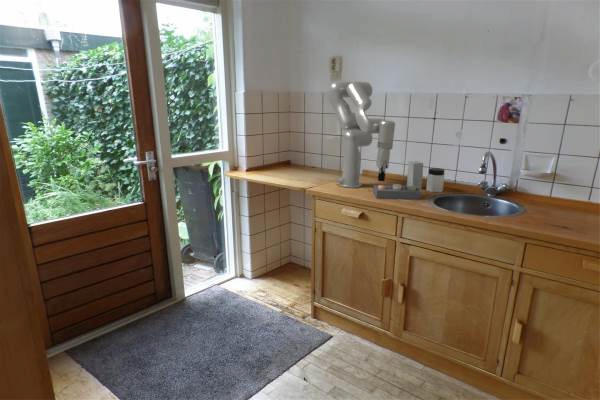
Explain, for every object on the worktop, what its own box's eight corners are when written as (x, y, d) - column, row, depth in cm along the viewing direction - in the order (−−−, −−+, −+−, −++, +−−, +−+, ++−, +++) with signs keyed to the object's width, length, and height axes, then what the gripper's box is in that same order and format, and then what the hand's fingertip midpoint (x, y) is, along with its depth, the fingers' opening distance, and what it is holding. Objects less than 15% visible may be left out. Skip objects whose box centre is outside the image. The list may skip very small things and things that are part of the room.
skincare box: (421, 189, 220) (424, 163, 216) (411, 189, 219) (414, 163, 215) (415, 185, 228) (418, 160, 224) (405, 186, 227) (408, 160, 223)
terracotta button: (378, 193, 202) (378, 186, 201) (376, 191, 206) (377, 184, 205) (386, 193, 202) (387, 186, 201) (385, 191, 206) (385, 185, 205)
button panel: (376, 198, 199) (377, 190, 198) (373, 192, 210) (373, 185, 209) (420, 199, 198) (421, 192, 197) (414, 193, 209) (415, 186, 208)
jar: (423, 189, 220) (425, 168, 217) (434, 188, 223) (436, 167, 220) (434, 193, 212) (436, 171, 209) (445, 191, 215) (448, 170, 212)
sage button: (407, 194, 201) (408, 187, 200) (405, 192, 205) (406, 185, 204) (416, 194, 201) (416, 187, 200) (414, 192, 205) (414, 185, 204)
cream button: (392, 192, 201) (393, 185, 200) (391, 190, 205) (391, 183, 205) (401, 192, 201) (402, 185, 200) (399, 190, 205) (400, 184, 204)
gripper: (375, 142, 205) (371, 176, 210) (379, 147, 191) (375, 184, 196) (389, 143, 205) (385, 177, 210) (395, 148, 190) (390, 184, 196)
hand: (381, 180), depth 203 cm, fingers closed
